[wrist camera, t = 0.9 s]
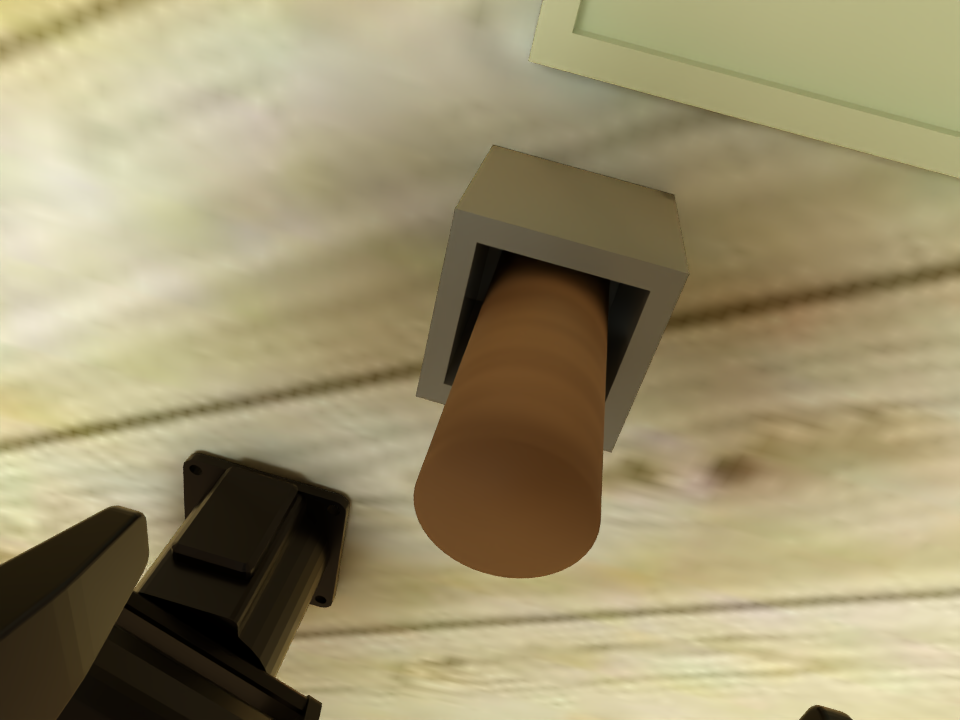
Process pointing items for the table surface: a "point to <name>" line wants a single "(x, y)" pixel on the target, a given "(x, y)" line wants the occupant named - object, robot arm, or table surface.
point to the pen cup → (561, 263)
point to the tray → (781, 65)
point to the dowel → (523, 426)
